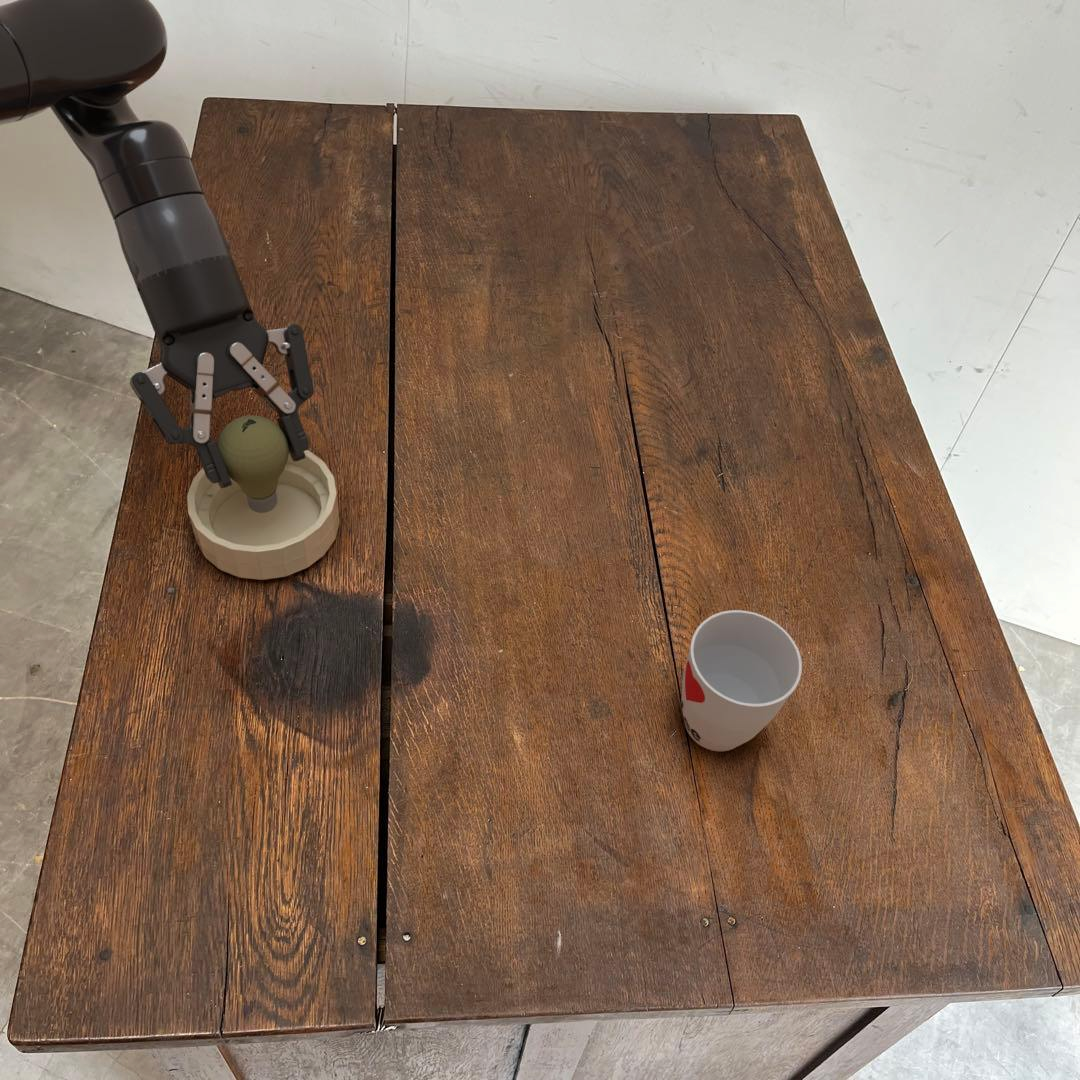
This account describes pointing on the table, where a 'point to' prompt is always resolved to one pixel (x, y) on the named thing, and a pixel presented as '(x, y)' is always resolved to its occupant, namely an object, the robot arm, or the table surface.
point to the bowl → (267, 522)
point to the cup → (736, 678)
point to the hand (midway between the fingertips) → (262, 472)
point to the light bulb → (255, 458)
